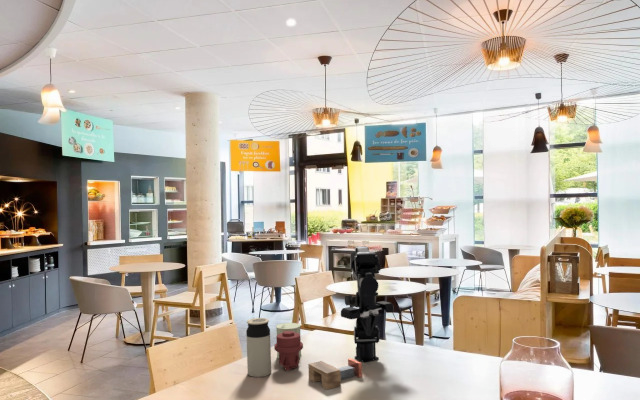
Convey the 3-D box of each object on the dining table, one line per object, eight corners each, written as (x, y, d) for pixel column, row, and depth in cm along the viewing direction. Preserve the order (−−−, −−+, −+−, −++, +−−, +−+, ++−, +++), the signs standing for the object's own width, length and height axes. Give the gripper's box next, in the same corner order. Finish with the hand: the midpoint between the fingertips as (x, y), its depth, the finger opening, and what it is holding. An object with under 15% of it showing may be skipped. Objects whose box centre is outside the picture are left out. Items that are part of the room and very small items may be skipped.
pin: (351, 371, 167) (350, 358, 167) (362, 376, 162) (361, 362, 162) (331, 377, 163) (330, 363, 163) (341, 382, 157) (341, 368, 157)
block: (321, 375, 164) (321, 360, 164) (340, 385, 154) (340, 369, 154) (308, 379, 161) (308, 363, 161) (327, 389, 152) (326, 373, 152)
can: (271, 357, 185) (270, 325, 185) (289, 351, 192) (288, 320, 192) (289, 362, 179) (288, 328, 179) (306, 355, 186) (305, 323, 186)
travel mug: (275, 371, 170) (274, 318, 170) (263, 378, 163) (261, 324, 163) (255, 368, 173) (254, 316, 173) (243, 375, 166) (241, 322, 166)
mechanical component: (306, 363, 177) (299, 373, 167) (279, 362, 179) (271, 371, 169) (305, 328, 177) (298, 336, 167) (278, 328, 179) (270, 335, 169)
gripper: (373, 283, 179) (375, 326, 179) (330, 289, 169) (332, 335, 169) (394, 287, 170) (395, 332, 170) (350, 294, 160) (351, 342, 160)
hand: (368, 335), depth 167 cm, fingers closed
